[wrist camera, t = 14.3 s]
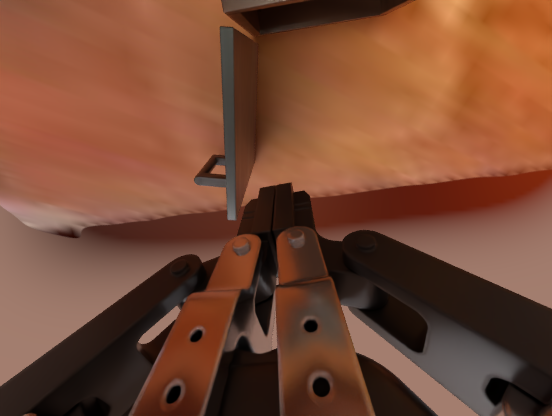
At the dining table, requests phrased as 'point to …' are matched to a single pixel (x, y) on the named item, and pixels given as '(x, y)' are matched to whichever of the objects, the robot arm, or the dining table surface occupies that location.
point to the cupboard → (302, 13)
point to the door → (235, 119)
